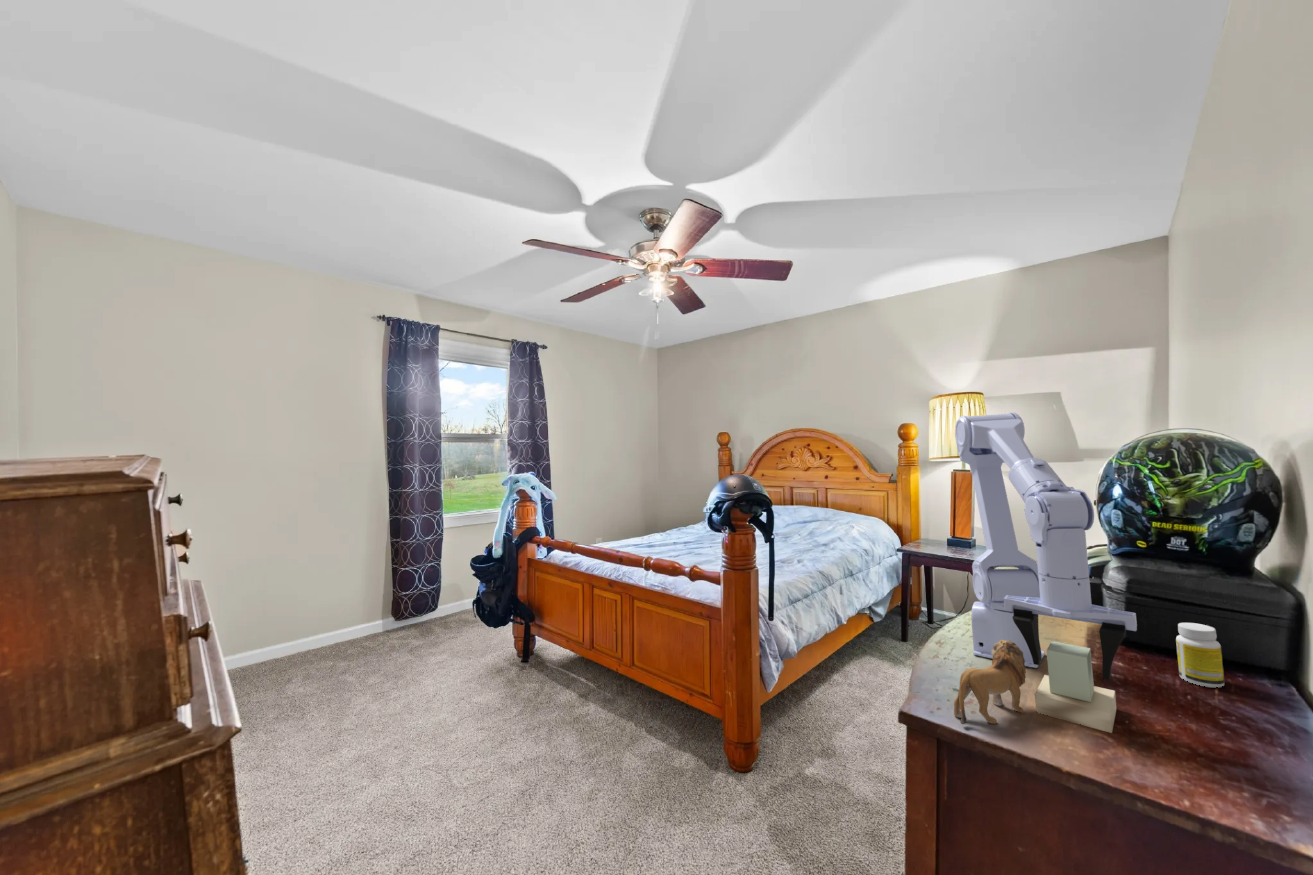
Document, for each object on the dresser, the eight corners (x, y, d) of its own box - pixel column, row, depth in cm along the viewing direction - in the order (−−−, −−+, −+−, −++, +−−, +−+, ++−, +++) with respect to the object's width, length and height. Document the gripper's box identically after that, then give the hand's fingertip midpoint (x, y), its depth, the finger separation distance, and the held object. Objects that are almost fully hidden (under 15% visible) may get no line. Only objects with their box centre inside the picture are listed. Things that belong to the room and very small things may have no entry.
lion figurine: (999, 690, 77) (994, 632, 77) (1038, 704, 73) (1033, 643, 73) (944, 720, 70) (939, 656, 70) (984, 738, 65) (978, 669, 66)
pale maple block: (1036, 715, 71) (1034, 694, 71) (1046, 694, 76) (1044, 674, 76) (1112, 736, 65) (1110, 713, 65) (1116, 712, 70) (1114, 690, 70)
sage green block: (1050, 692, 71) (1046, 649, 71) (1055, 681, 74) (1051, 641, 74) (1090, 702, 68) (1086, 657, 68) (1094, 690, 71) (1090, 648, 71)
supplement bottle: (1234, 689, 74) (1229, 632, 74) (1196, 688, 75) (1191, 631, 75) (1206, 674, 78) (1201, 621, 79) (1170, 673, 79) (1166, 621, 80)
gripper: (996, 573, 74) (1004, 665, 73) (1131, 588, 63) (1140, 695, 63) (1007, 564, 78) (1014, 650, 78) (1133, 576, 68) (1142, 676, 68)
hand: (1070, 669), depth 71 cm, fingers open, 7 cm apart
